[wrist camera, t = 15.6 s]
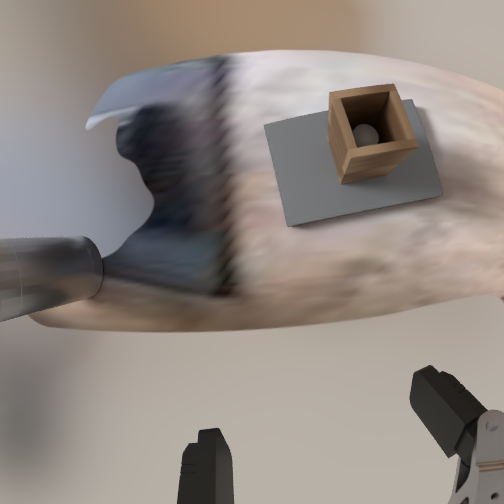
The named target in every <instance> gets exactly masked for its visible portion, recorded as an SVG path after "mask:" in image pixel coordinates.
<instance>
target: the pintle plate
mask: <svg viewBox="0 0 504 504" xmlns="http://www.w3.org/2000/svg"><path fill="white" fill-rule="evenodd" d="M401 101H402V103H403V106H404V108H405V111H406V113H407V116H408V119H409V121H410V124H411V127H412V129H413V132H414V135H415V138H416V141H417V144H418V148H416V149H415V150H414V151H413V152H412V153H411V154H410V155H409V156H408V157H407V158H405V159H404V160H403V161H402V162H401V163H400V164H399V165H398V166H397V167H396V168H394V169H393V170H392V171H391V172H390V173H389V174H388V175H386V176H381V177H376V178H370V179H365V180H360V181H355V182H350V183H345V184H340V182H339V178H338V174H337V171H336V167H335V163H334V160H333V156H332V153H331V149H330V146H329V142H328V139H327V132H328V113H329V110H328V111H323V112H318V113H313V114H308V115H304V116H299V117H295V118H290V119H286V120H282V121H278V122H274V123H270V124H266V125H264V129H265V133H266V137H267V141H268V145H269V149H270V153H271V157H272V161H273V166H274V170H275V174H276V178H277V183H278V187H279V191H280V196H281V200H282V205H283V209H284V214H285V218H286V223H287V226H288V227H290V226H295V225H300V224H304V223H309V222H314V221H319V220H323V219H328V218H333V217H338V216H343V215H348V214H353V213H358V212H363V211H368V210H373V209H378V208H383V207H388V206H393V205H398V204H403V203H408V202H414V201H419V200H424V199H429V198H435V197H439V196H442V195H443V193H442V189H441V185H440V181H439V177H438V173H437V170H436V166H435V163H434V159H433V156H432V153H431V149H430V146H429V143H428V140H427V137H426V134H425V131H424V129H423V126H422V123H421V120H420V118H419V115H418V113H417V110H416V108H415V105H414V103H413V100H412V99H409V100H401ZM353 136H354V140H355V143H356V146H357V148H358V147H364V146H370V145H376V144H377V143H378V141H379V136H378V133H377V131H376V130H375V129H374V128H373V127H372V126H370V125H367V124H360V125H358V126H356V127H355V129H354V130H353Z"/></svg>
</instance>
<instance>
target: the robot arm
mask: <svg viewBox="0 0 504 504" xmlns="http://www.w3.org/2000/svg"><path fill="white" fill-rule="evenodd" d="M102 279H103V264H102V259H101V255H100V253H99V250H98V249H97V247H96V245H95V244H94V243H93V242H92V241H91V240H90V239H89V238H87V237H84V236H71V237H35V238H34V237H33V238H7V239H0V322H3V321H6V320H10V319H13V318H17V317H21V316H24V315H28V314H32V313H35V312H39V311H43V310H46V309H50V308H54V307H58V306H61V305H65V304H69V303H73V302H76V301H80V300H84V299H87V298H91V297H93V296H94V295H95V294H96V293H97V292H98V290H99V289H100V286H101V283H102ZM410 403H411V406H412V408H413V410H414V411H415V413H416V414H417V415H418V417H419V418H420V419H421V421H422V422H423V423H424V425H425V426H426V428H427V429H428V430H429V432H430V433H431V434H432V436H433V437H434V439H435V440H436V441H437V443H438V444H439V446H440V447H441V448H442V450H443V451H444V453H445V454H446V456H447V457H448V458H450V457H451V456H453V455H455V454H456V453H457V454H458V455H459V459H458V463H457V469H456V475H455V481H454V486H453V491H452V495H451V498H450V501H449V502H448V504H504V413H503V412H501V411H498V410H489V411H488V410H487V409H486V408H485V407H484V406H483V405H482V404H481V403H480V402H479V401H478V400H477V399H476V398H475V397H474V396H473V395H472V394H471V393H470V392H469V391H468V390H466V389H465V387H464V386H463V385H462V384H460V382H459V381H458V380H457V379H456V378H455V377H454V376H453V375H451V374H448V373H446V372H444V371H442V372H440V373H439V372H438V371H437V370H436V369H435V368H434V367H433V366H431V365H429V366H427V367H424V368H422V369H420V370H418V371H416V372H414V374H413V379H412V386H411V392H410ZM181 464H182V467H181V472H180V473H181V475H180V480H179V490H178V499H177V504H234V492H233V467H232V456H231V452H230V449H229V447H228V445H227V443H226V441H225V439H224V437H223V435H222V433H221V431H220V429H219V428H212V429H204V430H200V431H199V433H198V443H189V444H188V446H187V447H186V449H185V451H184V452H183V456H182V463H181Z"/></svg>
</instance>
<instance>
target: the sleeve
mask: <svg viewBox="0 0 504 504" xmlns="http://www.w3.org/2000/svg"><path fill="white" fill-rule="evenodd" d="M360 124H367V125H370V126H372V127H373V128H374V129H375V130H376V131H377V133H378V136H379V141H378V143H377V144H376V145H370V146H364V147H358V148H357V146H356V143H355V140H354V136H353V130H354V129H355V127H356V126H358V125H360ZM327 139H328V142H329V146H330V149H331V153H332V156H333V160H334V163H335V167H336V171H337V174H338V178H339V182H340V184H345V183H350V182H355V181H360V180H365V179H370V178H376V177H381V176H386V175H388V174H389V173H390V172H391V171H392V170H393V169H394V168H396V167H397V166H398V165H399V164H400V163H401V162H402V161H403V160H404V159H405V158H407V157H408V156H409V155H410V154H411V153H412V152H413V151H414V150H415V149H416V148H418V144H417V141H416V138H415V135H414V132H413V129H412V127H411V124H410V121H409V119H408V116H407V113H406V111H405V108H404V106H403V103H402V101H401V99H400V96H399V94H398V92H397V89H396V87H395V85H394V84H385V85H376V86H368V87H360V88H353V89H347V90H341V91H335V92H329V113H328V132H327Z"/></svg>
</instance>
